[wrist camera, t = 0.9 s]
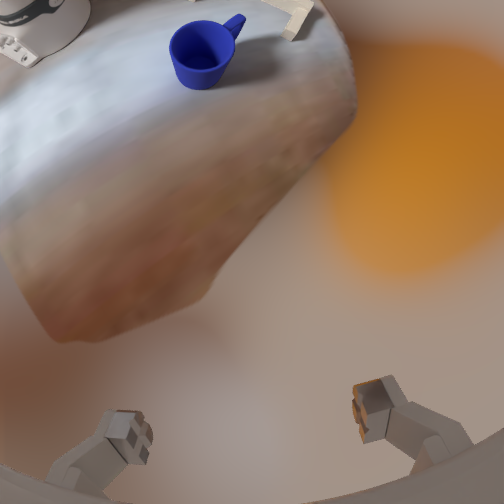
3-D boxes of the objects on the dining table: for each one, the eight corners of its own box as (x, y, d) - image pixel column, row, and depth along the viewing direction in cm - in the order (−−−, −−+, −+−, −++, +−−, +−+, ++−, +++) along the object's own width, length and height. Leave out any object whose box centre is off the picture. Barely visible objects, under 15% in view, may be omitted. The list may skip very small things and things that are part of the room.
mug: (252, 57, 41) (268, 28, 31) (200, 106, 41) (203, 84, 31) (214, 28, 38) (222, -4, 29) (161, 75, 39) (155, 48, 29)
